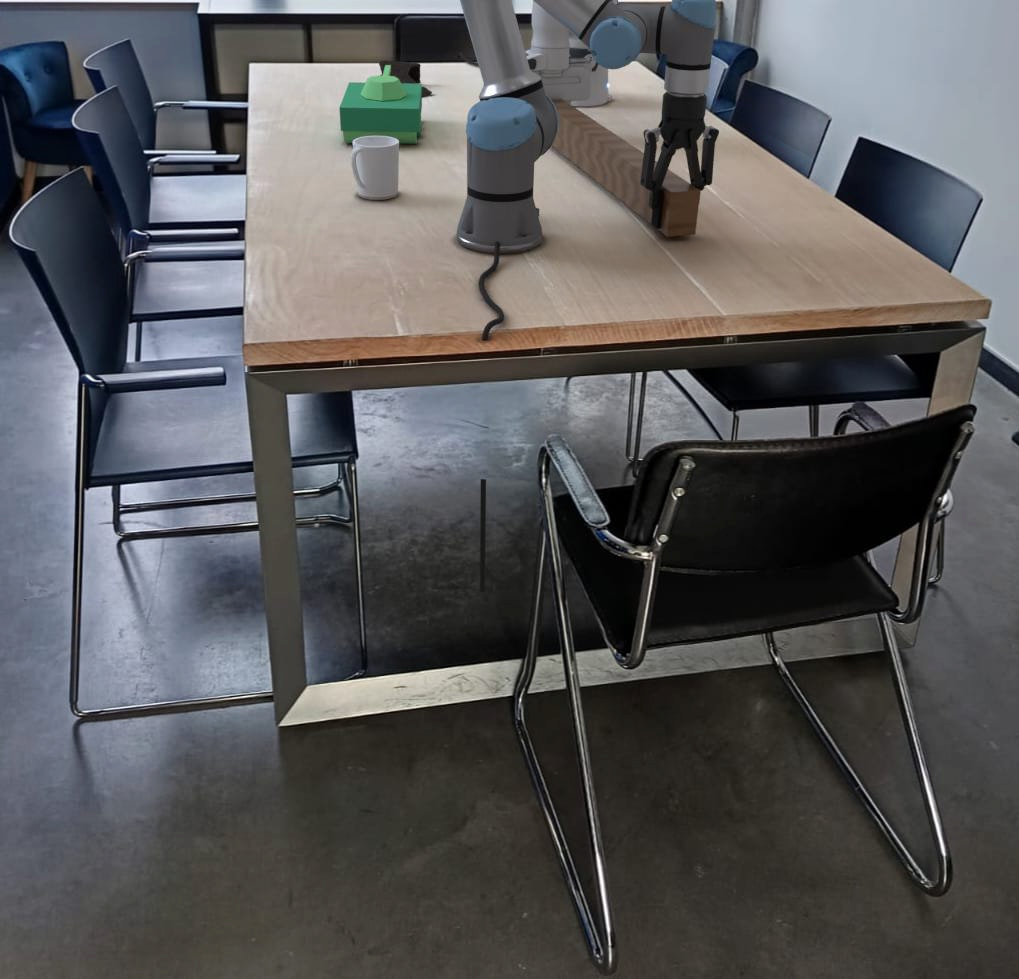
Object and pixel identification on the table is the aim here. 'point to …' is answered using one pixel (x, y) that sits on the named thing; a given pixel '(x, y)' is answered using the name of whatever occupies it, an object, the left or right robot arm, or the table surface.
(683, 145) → the left robot arm
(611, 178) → the bar
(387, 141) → the mug
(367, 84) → the green tank
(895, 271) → the table surface
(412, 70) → the axe head
